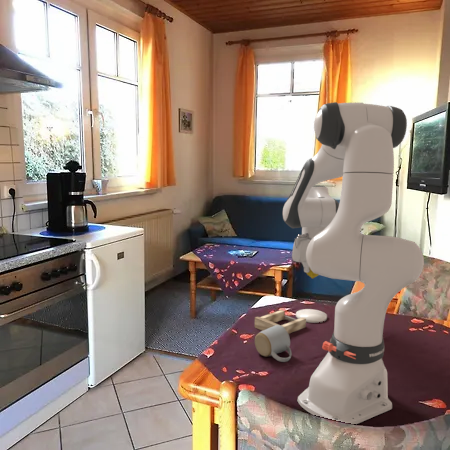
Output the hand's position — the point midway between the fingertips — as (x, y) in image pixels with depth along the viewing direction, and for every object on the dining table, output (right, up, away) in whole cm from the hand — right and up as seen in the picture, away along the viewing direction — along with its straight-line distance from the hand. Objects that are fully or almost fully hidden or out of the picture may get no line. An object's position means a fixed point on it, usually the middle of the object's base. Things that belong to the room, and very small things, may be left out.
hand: (313, 270), depth 150 cm
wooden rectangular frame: (-12, -18, -6) cm, 23 cm away
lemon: (0, -3, +1) cm, 3 cm away
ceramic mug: (-17, -22, -27) cm, 39 cm away
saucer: (0, -17, +3) cm, 17 cm away
